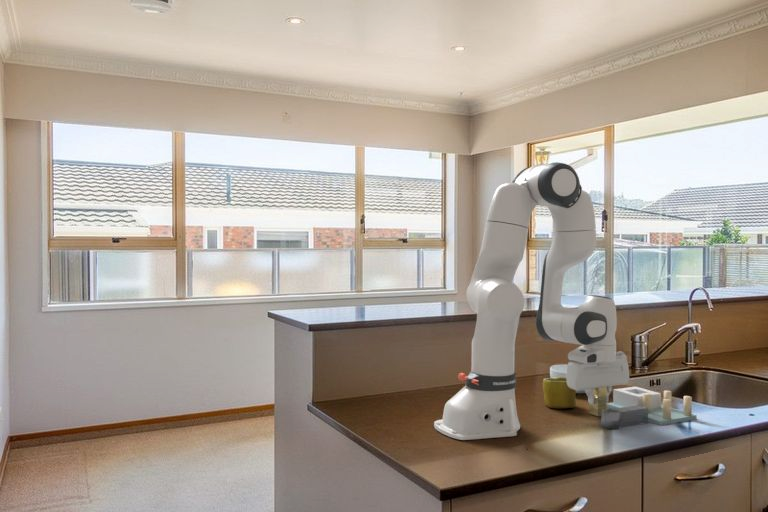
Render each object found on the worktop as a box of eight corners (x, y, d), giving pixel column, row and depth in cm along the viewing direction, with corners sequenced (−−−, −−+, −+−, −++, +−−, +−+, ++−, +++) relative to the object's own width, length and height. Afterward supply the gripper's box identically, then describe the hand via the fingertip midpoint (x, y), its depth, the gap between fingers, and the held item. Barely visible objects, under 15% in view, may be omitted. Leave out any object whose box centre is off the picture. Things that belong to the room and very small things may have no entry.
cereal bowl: (608, 398, 181) (608, 375, 181) (552, 395, 184) (552, 373, 184) (598, 385, 198) (598, 364, 198) (547, 383, 201) (547, 362, 200)
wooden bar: (598, 416, 161) (598, 387, 161) (589, 413, 164) (590, 385, 164) (606, 415, 163) (606, 386, 162) (598, 412, 165) (598, 384, 165)
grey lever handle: (610, 430, 150) (610, 414, 150) (597, 425, 154) (597, 410, 154) (650, 423, 156) (650, 408, 156) (636, 418, 160) (636, 404, 160)
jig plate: (660, 425, 154) (660, 402, 154) (605, 406, 172) (605, 386, 171) (696, 418, 160) (696, 397, 160) (640, 401, 177) (640, 382, 177)
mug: (584, 406, 165) (573, 371, 167) (548, 415, 167) (537, 380, 170) (581, 403, 177) (571, 371, 179) (548, 411, 179) (538, 379, 181)
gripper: (617, 348, 170) (616, 396, 170) (563, 353, 162) (562, 403, 162) (635, 352, 164) (634, 401, 165) (579, 358, 156) (578, 409, 156)
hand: (598, 402), depth 163 cm, fingers closed on wooden bar, 3 cm apart
